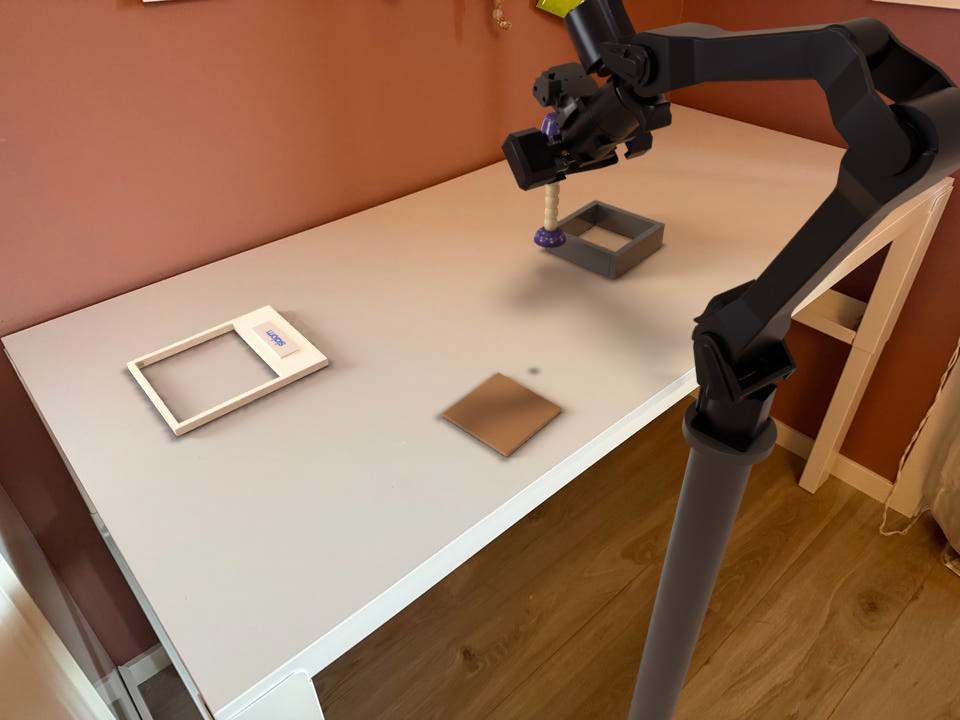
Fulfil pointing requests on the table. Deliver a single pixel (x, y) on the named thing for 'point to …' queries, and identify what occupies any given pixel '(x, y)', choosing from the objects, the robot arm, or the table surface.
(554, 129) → the toy lamp
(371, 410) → the table surface
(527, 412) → the cork pad
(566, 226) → the grey square tray
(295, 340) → the photo frame
